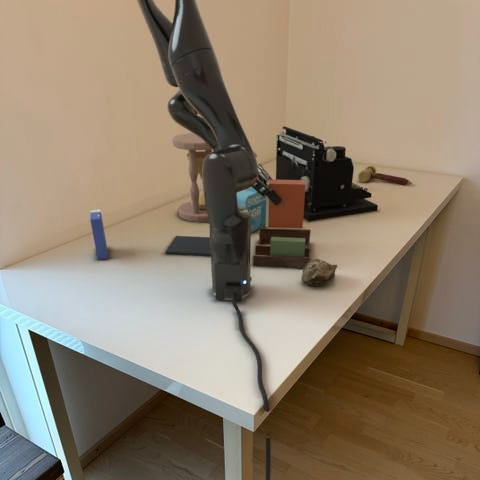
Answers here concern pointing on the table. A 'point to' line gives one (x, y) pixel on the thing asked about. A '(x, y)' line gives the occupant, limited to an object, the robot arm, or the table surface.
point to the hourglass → (193, 176)
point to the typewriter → (321, 176)
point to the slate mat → (190, 246)
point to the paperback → (287, 246)
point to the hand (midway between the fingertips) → (279, 200)
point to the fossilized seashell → (318, 272)
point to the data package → (253, 207)
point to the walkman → (99, 234)
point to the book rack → (266, 260)
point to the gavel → (380, 176)
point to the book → (286, 204)
